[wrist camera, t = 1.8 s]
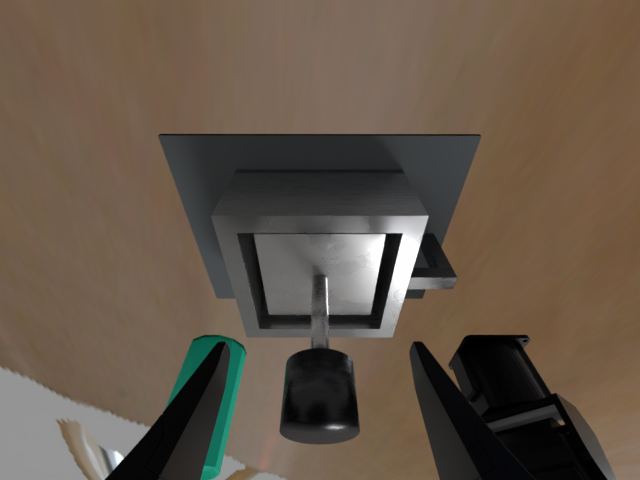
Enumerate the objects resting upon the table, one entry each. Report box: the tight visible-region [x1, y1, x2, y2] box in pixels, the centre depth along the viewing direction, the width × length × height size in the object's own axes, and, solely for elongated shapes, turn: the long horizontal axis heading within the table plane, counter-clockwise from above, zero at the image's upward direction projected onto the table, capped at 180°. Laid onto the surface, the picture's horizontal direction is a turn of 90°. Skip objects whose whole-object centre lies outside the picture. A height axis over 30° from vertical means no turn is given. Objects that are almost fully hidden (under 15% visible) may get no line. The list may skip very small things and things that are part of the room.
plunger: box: [254, 233, 386, 445], centre depth 13 cm, size 7×7×8 cm
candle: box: [165, 335, 246, 480], centre depth 25 cm, size 6×6×12 cm
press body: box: [211, 170, 457, 337], centre depth 18 cm, size 13×10×5 cm
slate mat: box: [158, 134, 481, 299], centre depth 20 cm, size 18×14×1 cm
